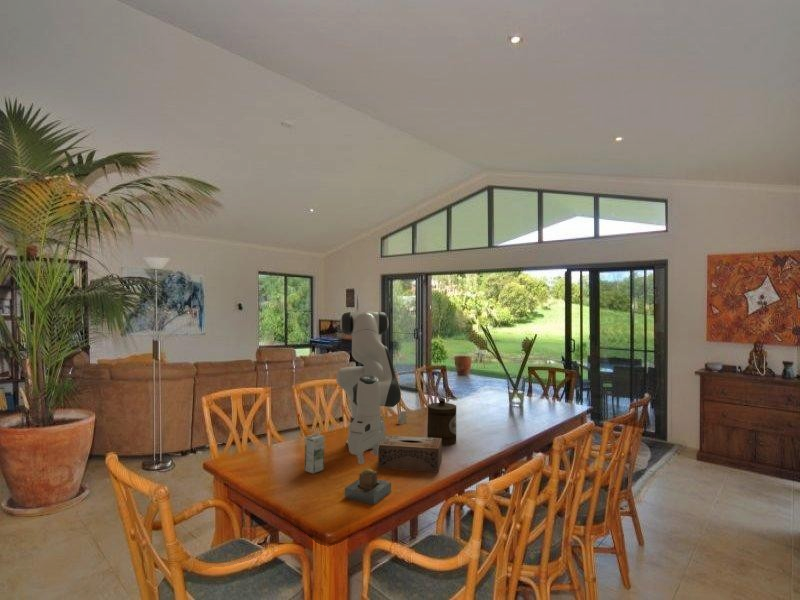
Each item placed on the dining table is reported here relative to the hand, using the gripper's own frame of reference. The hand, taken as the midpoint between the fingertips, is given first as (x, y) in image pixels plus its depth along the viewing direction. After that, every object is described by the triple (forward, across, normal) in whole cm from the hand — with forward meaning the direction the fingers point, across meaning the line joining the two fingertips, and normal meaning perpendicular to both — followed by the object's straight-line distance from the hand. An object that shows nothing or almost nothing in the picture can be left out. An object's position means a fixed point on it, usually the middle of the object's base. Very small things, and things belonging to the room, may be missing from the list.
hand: (368, 458), depth 157 cm
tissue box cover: (+14, -34, 0) cm, 37 cm away
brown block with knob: (+13, +1, 0) cm, 13 cm away
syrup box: (+14, -8, -32) cm, 35 cm away
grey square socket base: (+13, +1, 0) cm, 13 cm away
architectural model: (+16, -91, -33) cm, 98 cm away
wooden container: (+15, -70, 0) cm, 72 cm away
